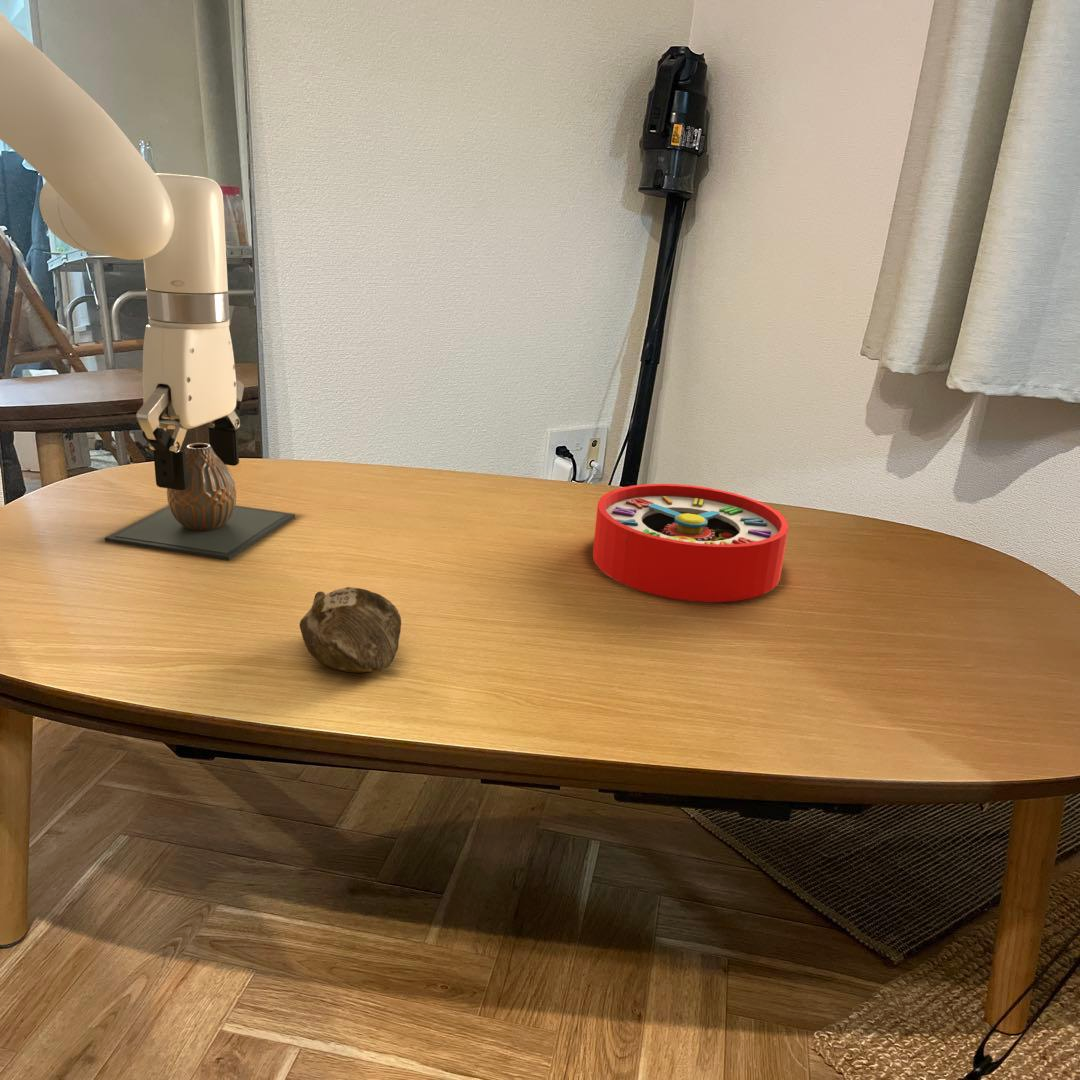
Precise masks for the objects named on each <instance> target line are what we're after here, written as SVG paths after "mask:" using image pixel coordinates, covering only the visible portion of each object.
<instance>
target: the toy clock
mask: <svg viewBox="0 0 1080 1080" xmlns="http://www.w3.org/2000/svg"><path fill="white" fill-rule="evenodd" d="M789 528H790V527H789V522H788V520H787V519H786V516H784V515H783V514H782V513H781V512H780V511H778V510H777V509H775V508H773V507H771V506H770V505H768V504H766V503H764V502H762V501H759V500H757V499H754V498H751V497H748V496H746V495H741V494H738V493H736V492H730V491H727V490H722V489H717V488H712V487H706V486H698V485H690V484H677V483H645V484H635V485H628V486H624V487H623V486H622V487H620V488H615V489H612V490H610V491H608V492H606V493H605V494H602V496H601V497H599V500H598V501H597V507H596V517H595V527H594V538H593V547H592V559H593V561H594V563H595V565H596V566H597V568H598V569H599V570H600V571H601V572H603V573H604V574H605V575H606V576H608V577H609V578H611V579H613V580H615V581H617V582H618V583H620V584H622V585H625V586H627V587H630V588H632V589H636V590H638V591H641V592H644V593H648V594H651V595H656V596H660V597H664V598H668V599H674V600H675V599H676V600H681V601H690V602H704V603H725V602H739V601H744V600H749V599H754V598H756V597H761V596H763V595H766V594H767V593H769V592H771V591H773V590H774V589H775V588H776V587H777V586H778V584H779V582H780V580H781V574H782V570H783V564H784V558H785V552H786V545H787V540H788V535H789Z"/></svg>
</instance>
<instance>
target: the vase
mask: <svg viewBox="0 0 1080 1080" xmlns="http://www.w3.org/2000/svg"><path fill="white" fill-rule="evenodd" d="M184 451H185V454H186V468H187V482H188V487H187V488H186V489H184V490H176V489H169V488H166V499H167V504H168V506H169V507H170V510H171V512H172V514H173V516H174V518H175V519H176V520H177V521H178V522H179V523H180V524H181V525H183V526H184V527H185V528H187V529H190V530H195V531H207V530H214V529H217V528H220V527H222V526H223V525H224V524H225V523H226V522H227V521H228V520H229V519H230V517H231V516H232V514H233V511H234V508H235V506H237V505H236V504H237V486H236V482H235V479H234V475H233V474H232V472H231V470H230V469H229V467H228V465H225V464H224V463H223V462H222V461H221V460H220V458H219V457H218V456H217V455H216V454H215V452H214V451H213V449H212V447H211V445H209V443H203V442H195V443H190V444H188V445H186V447H185V449H184Z"/></svg>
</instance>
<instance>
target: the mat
mask: <svg viewBox="0 0 1080 1080" xmlns="http://www.w3.org/2000/svg"><path fill="white" fill-rule="evenodd" d="M295 518H296V514H295V513H291V512H290V513H289V512H283V511H276V510H269V509H261V508H256V507H249V506H240V505H235V508H234V511H233V514H232V516H231V517H230V519H229V520H228V521H227V522H226V523H225V524H224V525H223V526H222V527H220V528H217V529H214V530H207V531H195V530H190V529H187V528H185V527H184V526H183V525H181V524H180V523H179V522H178V521H177V520H176V519H175V518H174V516H173V514H172V512H171V510H170V507H169V505H168V506H166V507H163V508H162V509H159V510H158V511H156V512H154V513H152V514H150V515H147V516H146V517H144V518H142V519H139V520H138V521H135V522H134V523H132V524H129V525H128V526H125V527H124V528H121V529H119V530H117V531H116V532H114V533H111V534H109V535H107V536H105V537H104V542H107V543H114V544H121V545H127V546H132V547H138V548H145V549H152V550H158V551H164V552H172V553H177V554H183V555H190V556H197V557H203V558H208V559H209V558H210V559H215V560H216V559H217V560H223V561H231V560H232V559H233V558H236V557H237V556H239V555H240V554H242V553H243V552H244V551H246V550H247V549H250V548H251V547H252V546H254V545H255V544H257V543H258V542H260V541H261V540H263V539H265V538H266V537H268V536H270V535H271V534H272V533H273V532H275V531H277V530H278V529H280V528H281V527H283V526H284V525H286V524H287V523H289V522H291V521H292V520H293V519H295Z"/></svg>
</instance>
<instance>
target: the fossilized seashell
mask: <svg viewBox="0 0 1080 1080" xmlns="http://www.w3.org/2000/svg"><path fill="white" fill-rule="evenodd" d="M401 628H402V618H401V614H400V613H399V610H398V608H397V607H396V606H395V604H393V603H392V602H391V600H389V599H387V598H386V597H385V596H383V595H382V594H379V593H377V592H373V591H371V590H368V589H364V588H359V587H349V586H346V587H343V588H338V589H334V590H333V591H330V592H327V593H326V594H325V592H324V591H317V592H316V593H315V594H314V598H313V601H312V605H311V608H310V609H308V611H307V613H306V614H305V615H304V616H303V617H302V618H301V620H300V623H299V629H300V632H301V637H302V640H303V642H304V644H305V647H306V649H307V651H308V653H309V654H310V655H311V656H312V657H313V658H314V659H316V661H318V662H320V663H321V664H323V665H325V666H327V667H330V668H331V669H335V670H338V671H343V672H346V673H357V674H359V673H378V672H379V673H380V672H382V671H383V670H384V669H387V668H388V667H390V665H391V664H392V663H393V661H394V659H395V657H396V653H397V652H398V649H399V642H400V636H401V632H402V631H401V630H402V629H401Z"/></svg>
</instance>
